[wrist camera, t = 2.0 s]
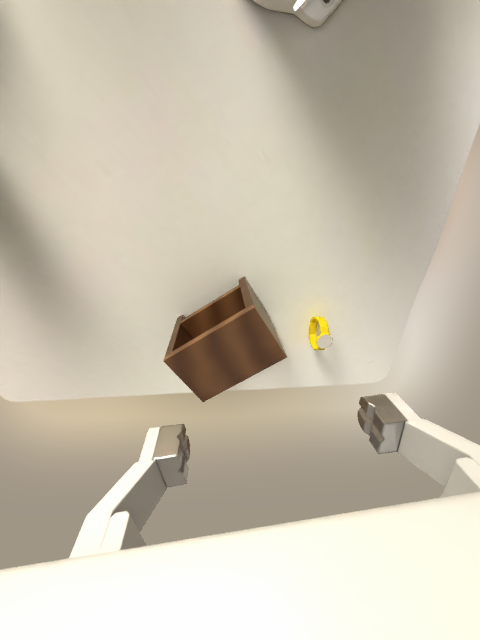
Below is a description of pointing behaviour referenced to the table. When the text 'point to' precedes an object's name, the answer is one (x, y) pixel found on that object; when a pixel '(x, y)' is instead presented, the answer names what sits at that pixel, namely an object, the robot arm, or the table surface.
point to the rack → (223, 343)
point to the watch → (324, 338)
